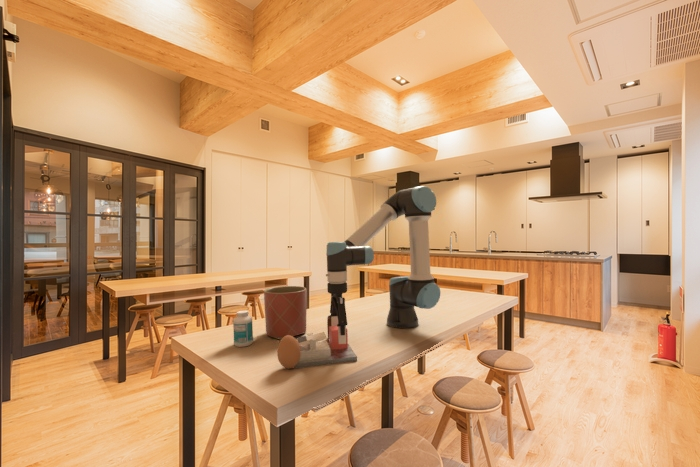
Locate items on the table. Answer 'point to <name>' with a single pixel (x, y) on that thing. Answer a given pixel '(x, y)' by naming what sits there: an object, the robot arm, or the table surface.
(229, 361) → the table surface
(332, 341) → the red block
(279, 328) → the planter
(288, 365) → the egg
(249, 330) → the pill bottle
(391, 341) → the table surface
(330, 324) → the mug
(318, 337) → the rocker
